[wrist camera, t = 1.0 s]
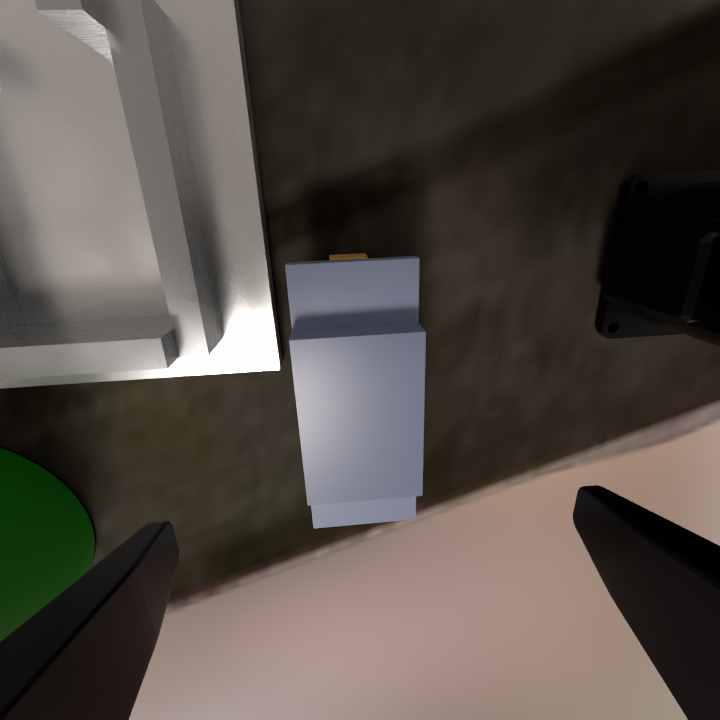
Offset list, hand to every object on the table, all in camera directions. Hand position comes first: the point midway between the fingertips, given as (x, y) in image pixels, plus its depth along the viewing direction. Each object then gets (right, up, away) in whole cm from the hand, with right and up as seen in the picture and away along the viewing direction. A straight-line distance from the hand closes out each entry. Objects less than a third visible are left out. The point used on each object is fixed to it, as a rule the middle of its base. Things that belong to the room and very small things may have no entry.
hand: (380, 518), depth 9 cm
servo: (-1, +3, +9) cm, 9 cm away
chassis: (-10, +9, +5) cm, 15 cm away
